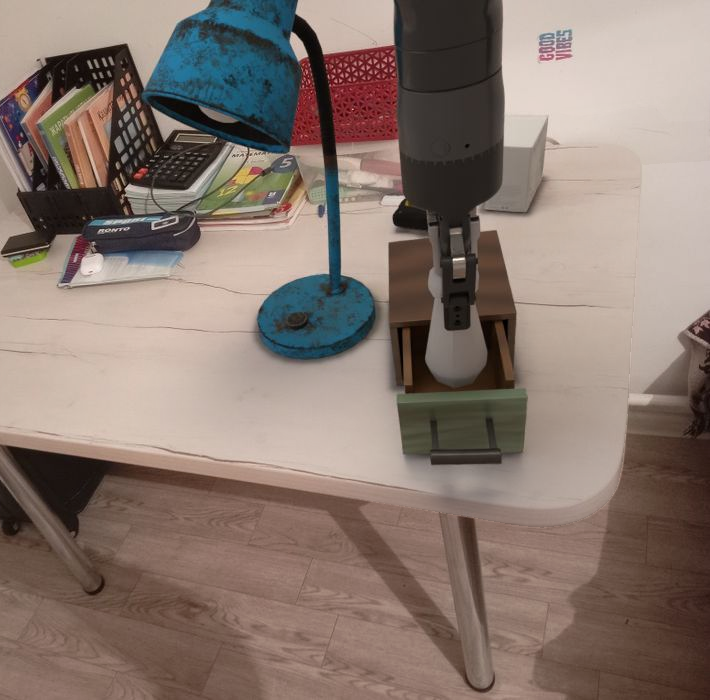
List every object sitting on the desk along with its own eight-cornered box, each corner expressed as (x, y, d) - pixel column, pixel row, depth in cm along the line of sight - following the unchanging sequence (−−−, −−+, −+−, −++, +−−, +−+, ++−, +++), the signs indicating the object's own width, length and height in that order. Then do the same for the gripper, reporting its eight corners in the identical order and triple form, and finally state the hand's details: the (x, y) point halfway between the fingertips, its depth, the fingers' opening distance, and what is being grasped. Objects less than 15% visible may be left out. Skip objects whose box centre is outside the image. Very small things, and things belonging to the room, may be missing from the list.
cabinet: (513, 379, 68) (516, 312, 62) (396, 385, 72) (388, 322, 66) (495, 293, 80) (496, 229, 73) (394, 302, 83) (388, 242, 77)
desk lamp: (210, 354, 84) (73, -9, 56) (315, 268, 93) (243, -82, 65) (295, 401, 74) (181, -17, 45) (404, 300, 83) (366, -102, 54)
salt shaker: (494, 360, 62) (497, 253, 54) (477, 400, 59) (478, 292, 51) (436, 349, 66) (431, 246, 57) (418, 386, 62) (409, 283, 54)
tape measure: (391, 232, 96) (389, 211, 94) (412, 209, 99) (410, 188, 97) (432, 239, 92) (431, 217, 89) (453, 215, 95) (452, 193, 93)
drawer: (532, 494, 57) (537, 440, 52) (404, 494, 60) (397, 443, 55) (503, 351, 71) (505, 297, 66) (400, 357, 74) (395, 307, 69)
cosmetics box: (528, 213, 91) (533, 146, 84) (483, 210, 94) (484, 145, 87) (544, 178, 97) (550, 112, 90) (501, 176, 100) (503, 113, 93)
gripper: (519, 170, 40) (509, 361, 51) (491, 88, 50) (488, 261, 61) (400, 187, 42) (415, 366, 53) (397, 105, 52) (410, 269, 63)
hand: (454, 309), depth 57 cm, fingers closed on salt shaker, 4 cm apart
